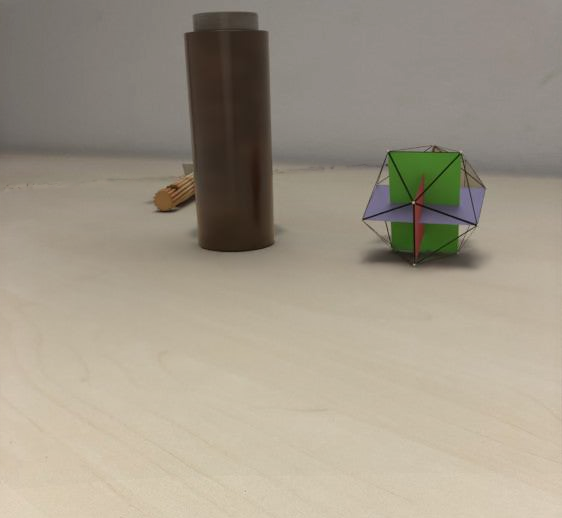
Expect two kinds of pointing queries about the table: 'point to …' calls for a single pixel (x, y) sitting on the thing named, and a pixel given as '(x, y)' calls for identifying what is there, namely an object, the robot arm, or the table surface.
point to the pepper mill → (230, 130)
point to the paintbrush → (176, 190)
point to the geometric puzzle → (427, 200)
